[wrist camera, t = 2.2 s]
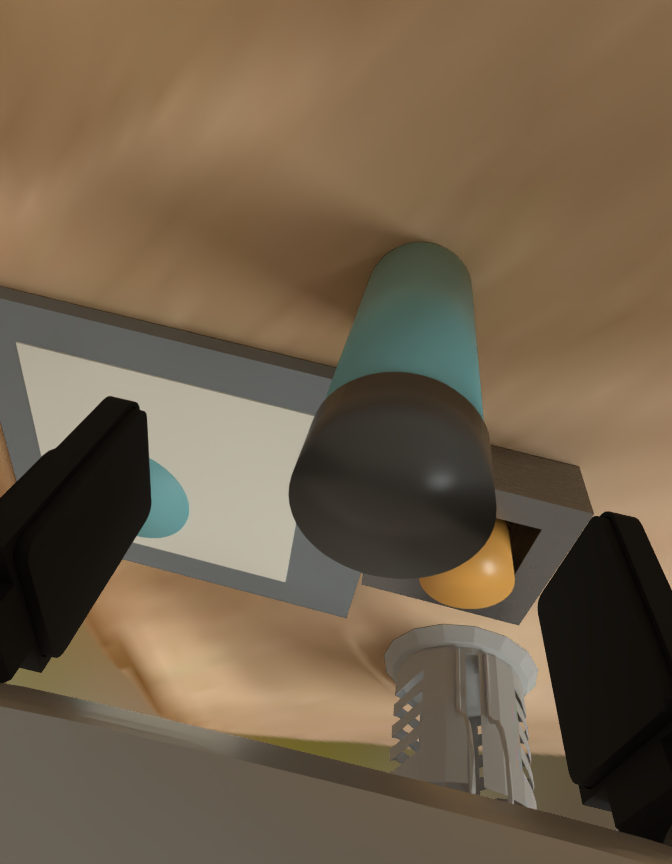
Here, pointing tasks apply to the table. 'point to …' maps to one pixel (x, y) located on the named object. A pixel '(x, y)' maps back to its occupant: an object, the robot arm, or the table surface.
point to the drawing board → (180, 439)
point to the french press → (463, 709)
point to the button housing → (524, 528)
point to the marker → (402, 428)
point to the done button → (477, 575)
